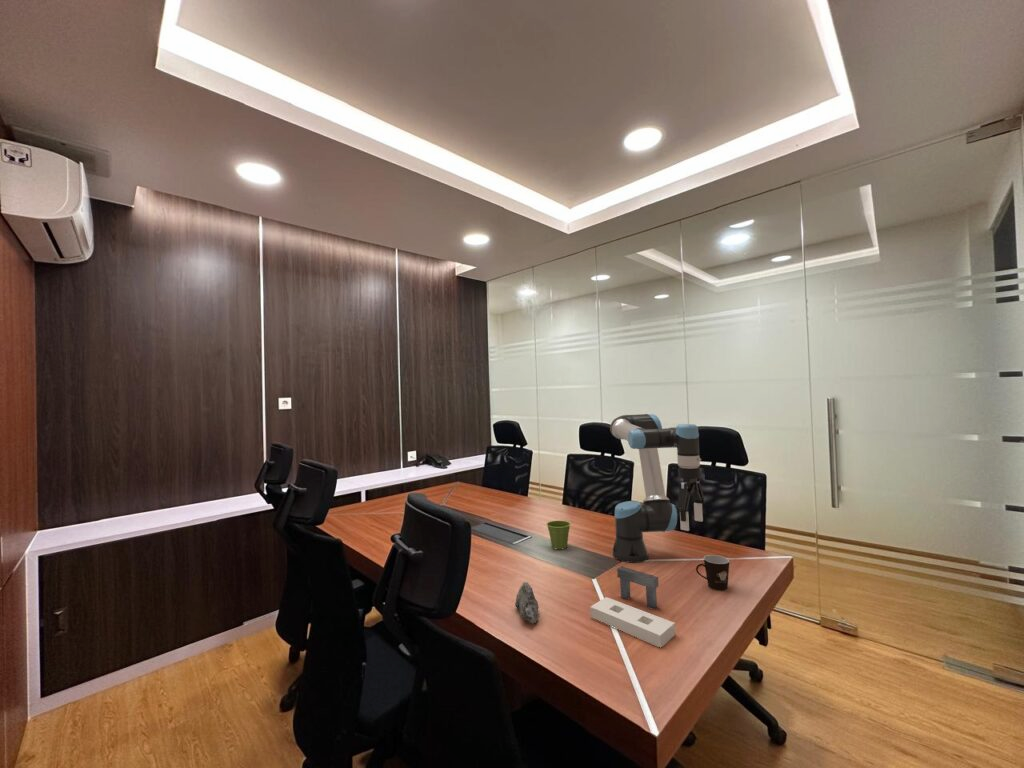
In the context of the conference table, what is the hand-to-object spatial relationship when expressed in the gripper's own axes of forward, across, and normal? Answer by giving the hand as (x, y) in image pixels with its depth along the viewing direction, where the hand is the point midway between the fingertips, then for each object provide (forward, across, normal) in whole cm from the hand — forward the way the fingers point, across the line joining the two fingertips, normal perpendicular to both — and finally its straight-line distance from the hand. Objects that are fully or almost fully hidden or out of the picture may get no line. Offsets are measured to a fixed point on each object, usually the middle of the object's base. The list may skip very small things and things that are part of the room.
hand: (692, 525), depth 150 cm
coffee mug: (+24, +8, -4) cm, 25 cm away
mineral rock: (+24, -52, +36) cm, 68 cm away
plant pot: (+24, +6, +66) cm, 70 cm away
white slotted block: (+24, -36, +7) cm, 43 cm away
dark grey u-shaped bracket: (+24, -20, +12) cm, 33 cm away
